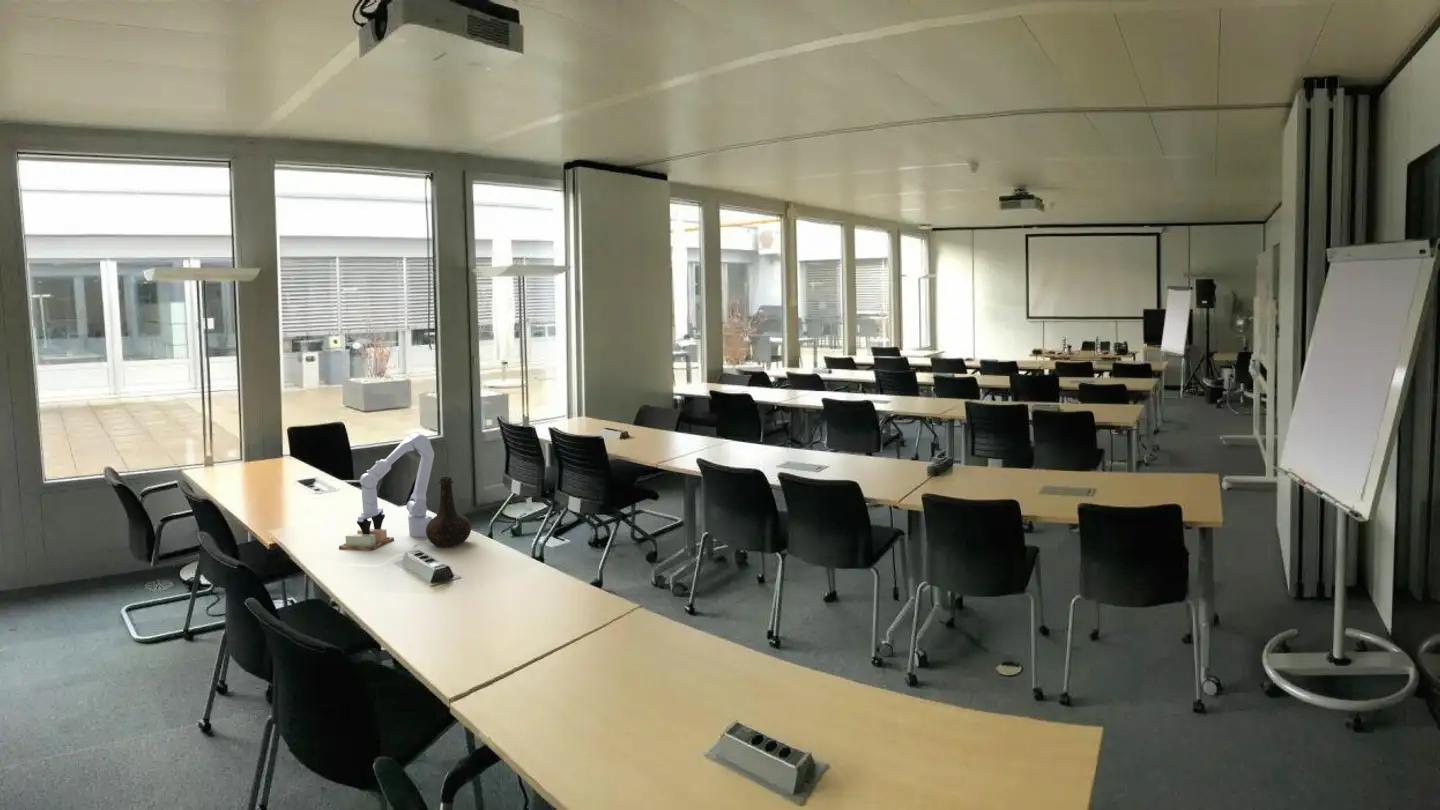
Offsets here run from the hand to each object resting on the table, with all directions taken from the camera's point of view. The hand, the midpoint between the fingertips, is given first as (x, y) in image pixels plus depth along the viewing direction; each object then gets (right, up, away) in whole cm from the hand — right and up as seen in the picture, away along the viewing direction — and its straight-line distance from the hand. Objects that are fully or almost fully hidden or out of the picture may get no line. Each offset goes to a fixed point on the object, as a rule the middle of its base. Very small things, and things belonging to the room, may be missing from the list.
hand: (372, 534), depth 352 cm
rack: (-1, -4, -3) cm, 6 cm away
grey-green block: (-2, -4, -7) cm, 8 cm away
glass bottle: (+33, -4, -3) cm, 33 cm away
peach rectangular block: (0, -3, 0) cm, 3 cm away
